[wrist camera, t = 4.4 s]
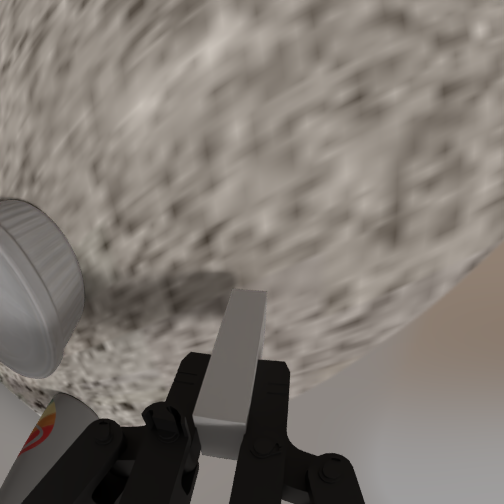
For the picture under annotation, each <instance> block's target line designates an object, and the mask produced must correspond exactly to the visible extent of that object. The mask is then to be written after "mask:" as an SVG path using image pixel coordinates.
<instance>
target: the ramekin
mask: <svg viewBox="0 0 504 504" xmlns="http://www.w3.org/2000/svg"><path fill="white" fill-rule="evenodd" d="M84 294H85V293H84V283H83V277H82V273H81V269H80V266H79V263H78V260H77V258H76V255H75V253H74V251H73V249H72V247H71V245H70V243H69V242H68V240H67V238H66V237H65V235H64V234H63V233H62V231H61V230H60V229H59V227H58V226H57V225H56V224H55V223H54V222H53V221H52V220H51V219H50V218H49V217H48V216H47V215H46V214H45V213H43V212H42V211H41V210H39V209H37V208H36V207H34V206H32V205H31V204H28V203H26V202H24V201H18V200H6V201H1V202H0V362H2V363H3V364H4V365H6V366H7V367H9V368H10V369H12V370H13V371H15V372H16V373H19V374H20V375H22V376H25V377H29V378H35V379H38V378H39V379H42V378H46V377H48V376H50V375H51V374H52V373H53V372H54V371H55V370H56V369H57V367H58V366H59V364H60V363H61V360H62V357H63V353H64V348H65V346H66V344H67V343H68V341H69V339H70V337H71V335H72V333H73V331H74V329H75V327H76V325H77V324H78V322H79V320H80V318H81V315H82V312H83V308H84V301H85V300H84Z"/></svg>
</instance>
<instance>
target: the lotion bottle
mask: <svg viewBox="0 0 504 504" xmlns="http://www.w3.org/2000/svg"><path fill="white" fill-rule="evenodd" d="M98 419H99V418H98V416H97V415H96V414H95V413H94V412H93V411H92V410H91V409H90V408H89V407H88V406H86V405H85V404H84V403H82V402H81V401H79V400H77V399H76V398H74V397H72V396H69V395H67V394H63V393H59V394H56V395H55V396H54V398H53V399H52V400H51V402H50V403H49V405H48V406H47V408H46V410H45V411H44V413H43V414H42V416H41V418H40V419H39V421H38V423H37V424H36V426H35V428H34V429H33V431H32V433H31V434H30V436H29V438H28V439H27V441H26V443H25V445H24V446H23V448H22V450H21V451H20V453H19V455H18V457H17V459H16V460H15V462H14V464H13V466H12V468H11V470H10V471H9V473H8V475H7V477H6V479H5V481H4V483H3V485H2V487H1V488H0V504H21V503H22V502H23V500H24V499H25V498H26V497H27V496H28V495H29V493H30V492H31V491H32V490H33V489H34V488H35V486H36V485H37V484H38V483H39V482H40V481H41V479H42V478H43V477H44V476H45V475H46V474H47V472H48V471H49V470H50V469H51V468H52V467H53V465H54V464H55V463H56V462H57V461H58V460H59V459H60V457H61V456H62V455H63V454H64V453H65V452H66V450H67V449H68V448H69V447H70V446H71V445H72V444H73V442H74V441H75V440H76V439H77V438H78V437H79V435H80V434H81V433H82V432H83V431H84V430H85V429H86V427H87V426H88V425H89V424H91V423H92V422H93V421H95V420H98Z"/></svg>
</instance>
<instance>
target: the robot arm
mask: <svg viewBox="0 0 504 504" xmlns="http://www.w3.org/2000/svg"><path fill="white" fill-rule="evenodd" d="M266 305H267V291H256V290H244V289H232V292H231V295H230V298H229V301H228V304H227V307H226V311H225V314H224V317H223V320H222V323H221V326H220V329H219V333H218V336H217V339H216V342H215V345H214V348H213V351H212V355H210V354H202V353H196V352H190V353H189V354H188V355H187V356H186V357H185V358H184V359H183V360H182V361H181V364H180V366H179V369H178V371H177V374H176V376H175V379H174V382H173V384H172V386H171V389H170V391H169V394H168V396H167V399H166V401H165V402H157V403H153V404H151V405H150V406H148V407H147V408H145V410H144V411H143V413H142V417H143V419H144V421H145V423H146V425H145V426H138V427H120V425H119V424H117V423H116V422H115V421H113V420H110V419H98V420H95V421H93V422H92V423H91V424H89V425H88V426H87V427H86V429H85V430H84V431H83V432H82V433H81V434H80V435H79V437H78V438H77V439H76V440H75V441H74V442H73V444H72V445H71V446H70V447H69V448H68V449H67V450H66V452H65V453H64V454H63V455H62V456H61V457H60V459H59V460H58V461H57V462H56V463H55V464H54V465H53V467H52V468H51V469H50V470H49V471H48V472H47V474H46V475H45V476H44V477H43V478H42V479H41V481H40V482H39V483H38V484H37V485H36V486H35V488H34V489H33V490H32V491H31V492H30V493H29V495H28V496H27V497H26V498H25V499H24V500H23V502H22V503H21V504H190V501H191V497H192V493H193V490H194V486H195V482H196V478H197V474H198V470H199V463H198V458H199V455H200V451H201V452H202V455H206V456H212V457H218V458H224V459H232V460H238V461H237V466H236V471H235V476H234V481H233V486H232V492H231V497H230V502H229V504H281V499H282V500H285V501H288V502H290V503H294V504H365V502H364V499H363V496H362V493H361V490H360V487H359V484H358V481H357V478H356V475H355V472H354V469H353V466H352V465H351V463H350V461H349V460H348V459H347V458H345V457H344V456H342V455H339V454H335V453H326V454H323V455H320V456H316V455H313V454H310V453H306V452H303V451H302V450H299V449H297V448H296V447H295V446H294V445H293V444H292V443H291V442H290V441H289V439H288V436H287V416H288V401H289V385H290V371H289V369H288V367H287V365H286V363H285V362H282V361H270V360H261V359H262V352H263V346H264V339H265V322H266Z"/></svg>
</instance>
